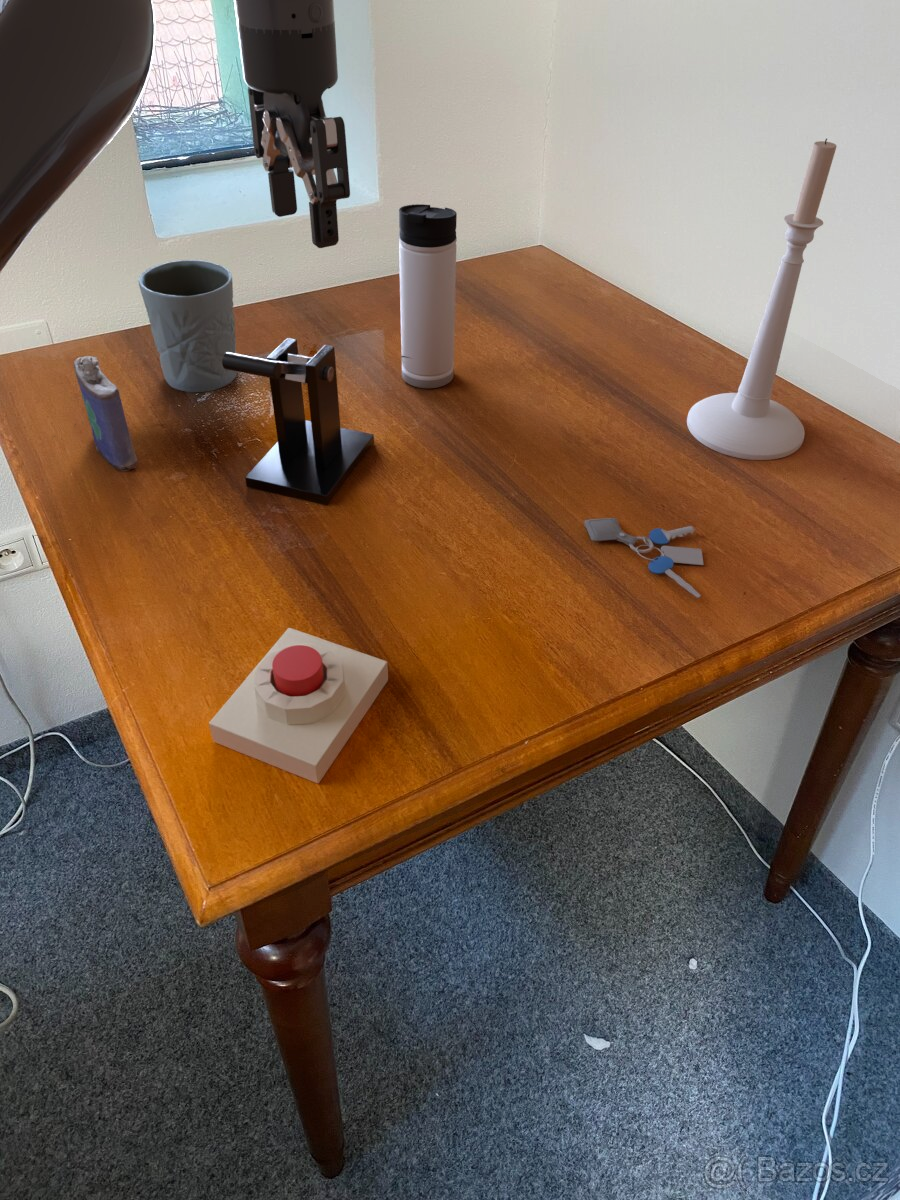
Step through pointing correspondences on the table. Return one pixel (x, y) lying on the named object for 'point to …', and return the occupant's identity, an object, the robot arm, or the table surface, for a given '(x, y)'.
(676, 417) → the table surface
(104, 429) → the blue squeeze pouch
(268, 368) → the lever
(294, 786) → the table surface
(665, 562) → the key chain
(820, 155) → the candlestick
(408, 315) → the travel mug
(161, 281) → the grey hollow tapered cylinder
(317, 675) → the button
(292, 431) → the bracket
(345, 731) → the button box
